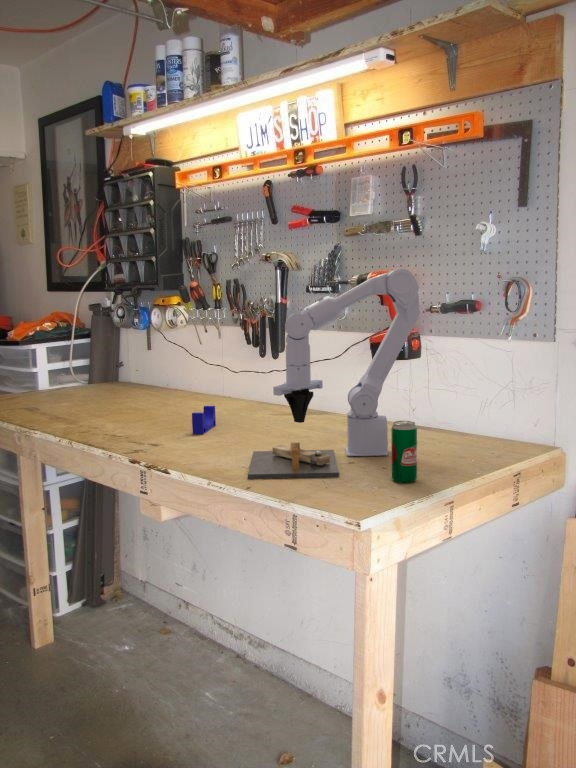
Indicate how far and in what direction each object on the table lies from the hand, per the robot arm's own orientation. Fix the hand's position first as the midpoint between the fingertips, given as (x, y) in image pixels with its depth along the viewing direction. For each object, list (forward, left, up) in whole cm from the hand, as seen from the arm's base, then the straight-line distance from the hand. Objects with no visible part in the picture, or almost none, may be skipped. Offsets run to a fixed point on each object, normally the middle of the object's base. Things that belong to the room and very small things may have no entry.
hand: (299, 421), depth 162 cm
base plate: (+1, +11, -8) cm, 13 cm away
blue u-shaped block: (+27, -31, -8) cm, 42 cm away
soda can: (-21, +24, -8) cm, 33 cm away
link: (0, +9, -6) cm, 11 cm away
